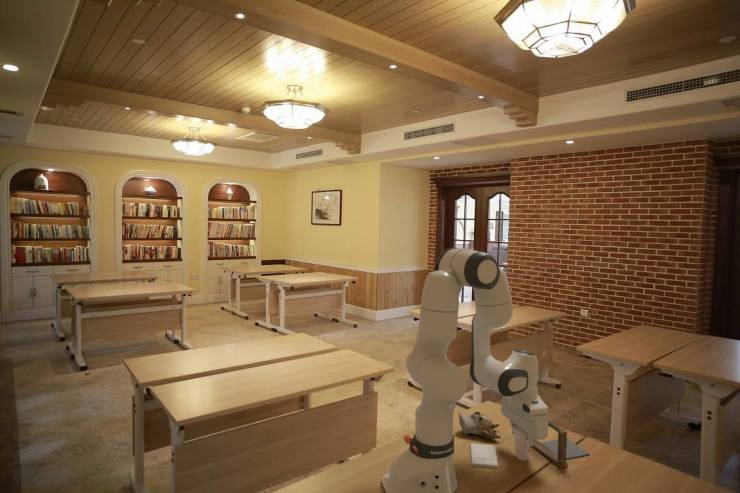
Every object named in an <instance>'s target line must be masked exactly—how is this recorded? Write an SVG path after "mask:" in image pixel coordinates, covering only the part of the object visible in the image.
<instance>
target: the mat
mask: <svg viewBox="0 0 740 493" xmlns="http://www.w3.org/2000/svg"><path fill="white" fill-rule="evenodd" d="M540 443H541V444H543V445H544V446H545V447H547V448H548V449H549V450H551V451H552V452H554V453H555V454H556V455H558V439H553V440H548V441H541V442H540ZM590 455H591V453H590V452H588V451H587V450H585V449H584V448H582V447H581V446H579V445H577V444H576V443H574V442H573V441H572V440H570V439H569V438H567V449H566V461H567V460H571V459H577V458H581V457H585V456H586V457H587V456H590Z"/></svg>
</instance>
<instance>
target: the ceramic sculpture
mask: <svg viewBox="0 0 740 493" xmlns="http://www.w3.org/2000/svg"><path fill="white" fill-rule="evenodd" d="M458 419H459V420H458V421H459V426H460V428H461V431H462V433H463V434H464V435H465V436H466V435H468V434H473V435H477V436H479V437H484V438H486V439H489V440H496V439H501V438H502V437H501V436H500V435H498V434H497V433H496V431H493V429H496V428H498V427H500V424H498V423H496V424H494V423H492V421H491V419H490V418H489V416H488V415H487V414H486V415H485V414H482V413H481V412H480V411H475V412H472V413H471V415H467V414H465V413H460V412H459V413H458Z"/></svg>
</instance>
